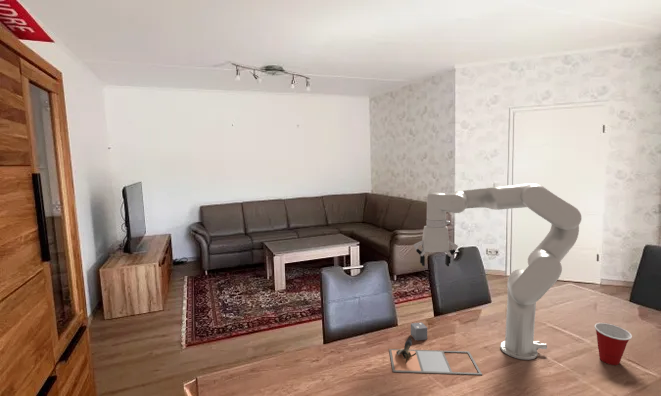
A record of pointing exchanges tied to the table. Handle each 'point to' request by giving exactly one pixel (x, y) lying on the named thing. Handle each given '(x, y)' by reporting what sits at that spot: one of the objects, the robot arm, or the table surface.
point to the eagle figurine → (406, 350)
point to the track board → (426, 362)
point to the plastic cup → (611, 342)
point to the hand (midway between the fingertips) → (435, 265)
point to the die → (418, 331)
